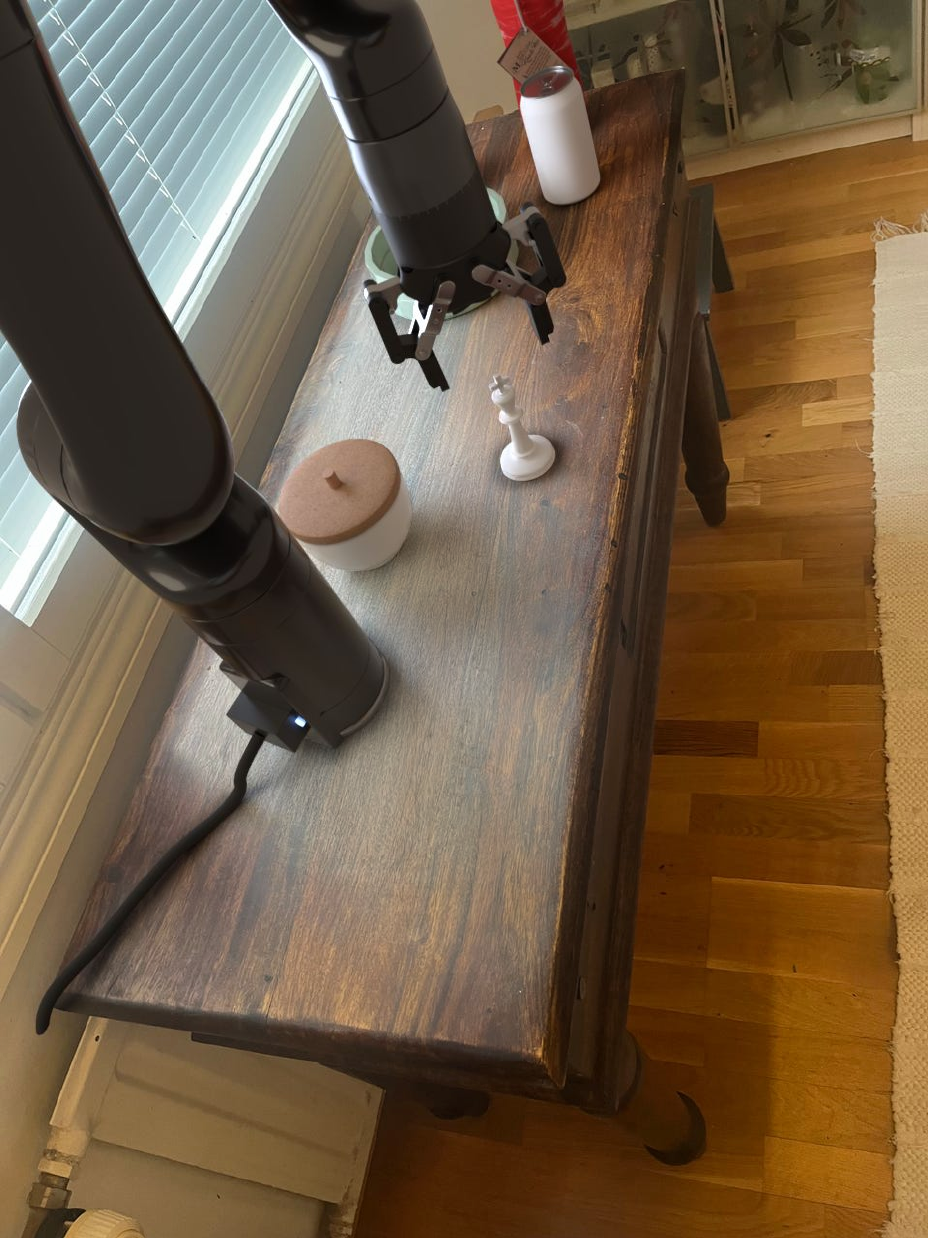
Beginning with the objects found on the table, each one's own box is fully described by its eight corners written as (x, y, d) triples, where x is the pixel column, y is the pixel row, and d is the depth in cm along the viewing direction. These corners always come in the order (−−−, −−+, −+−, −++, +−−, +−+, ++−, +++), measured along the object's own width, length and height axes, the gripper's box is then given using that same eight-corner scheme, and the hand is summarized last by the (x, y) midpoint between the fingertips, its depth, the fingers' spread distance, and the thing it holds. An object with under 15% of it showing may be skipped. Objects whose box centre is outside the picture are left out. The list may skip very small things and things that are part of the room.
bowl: (479, 329, 94) (462, 285, 90) (359, 318, 102) (338, 276, 98) (543, 230, 100) (530, 184, 96) (425, 226, 108) (409, 183, 104)
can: (601, 165, 104) (578, 55, 94) (600, 199, 100) (577, 89, 91) (545, 178, 106) (517, 73, 96) (542, 212, 102) (513, 106, 93)
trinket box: (295, 559, 84) (244, 492, 77) (376, 480, 87) (335, 407, 79) (367, 612, 78) (319, 545, 71) (453, 525, 81) (415, 451, 73)
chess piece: (492, 458, 84) (457, 375, 76) (539, 430, 84) (509, 345, 76) (516, 490, 81) (482, 407, 73) (565, 461, 81) (536, 375, 73)
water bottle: (582, 165, 105) (526, -87, 85) (515, 176, 108) (446, -64, 88) (599, 105, 111) (550, -143, 91) (535, 117, 114) (474, -121, 94)
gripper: (333, 251, 59) (423, 429, 72) (539, 149, 58) (593, 349, 70) (313, 197, 64) (400, 372, 76) (503, 101, 62) (560, 296, 75)
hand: (493, 361), depth 73 cm, fingers open, 8 cm apart
